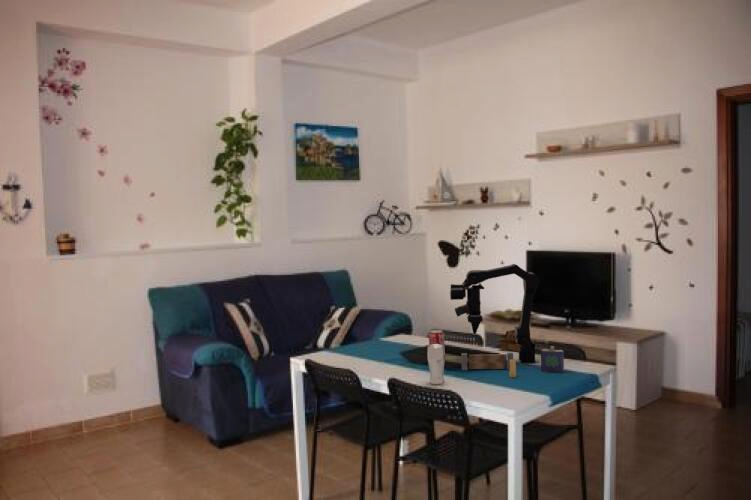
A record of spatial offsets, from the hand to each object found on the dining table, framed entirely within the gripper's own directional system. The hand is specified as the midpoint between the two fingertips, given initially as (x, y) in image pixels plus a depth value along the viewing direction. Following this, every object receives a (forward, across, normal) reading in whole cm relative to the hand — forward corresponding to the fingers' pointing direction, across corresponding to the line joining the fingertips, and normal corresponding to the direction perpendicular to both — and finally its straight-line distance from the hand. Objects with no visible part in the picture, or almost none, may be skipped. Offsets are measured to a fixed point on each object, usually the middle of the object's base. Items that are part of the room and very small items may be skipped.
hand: (474, 333), depth 278 cm
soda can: (+13, -11, -17) cm, 24 cm away
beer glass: (+13, +29, -17) cm, 36 cm away
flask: (+13, +15, +31) cm, 37 cm away
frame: (+13, +16, +4) cm, 21 cm away
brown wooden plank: (+13, +11, +5) cm, 18 cm away
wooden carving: (+13, -19, +20) cm, 31 cm away
